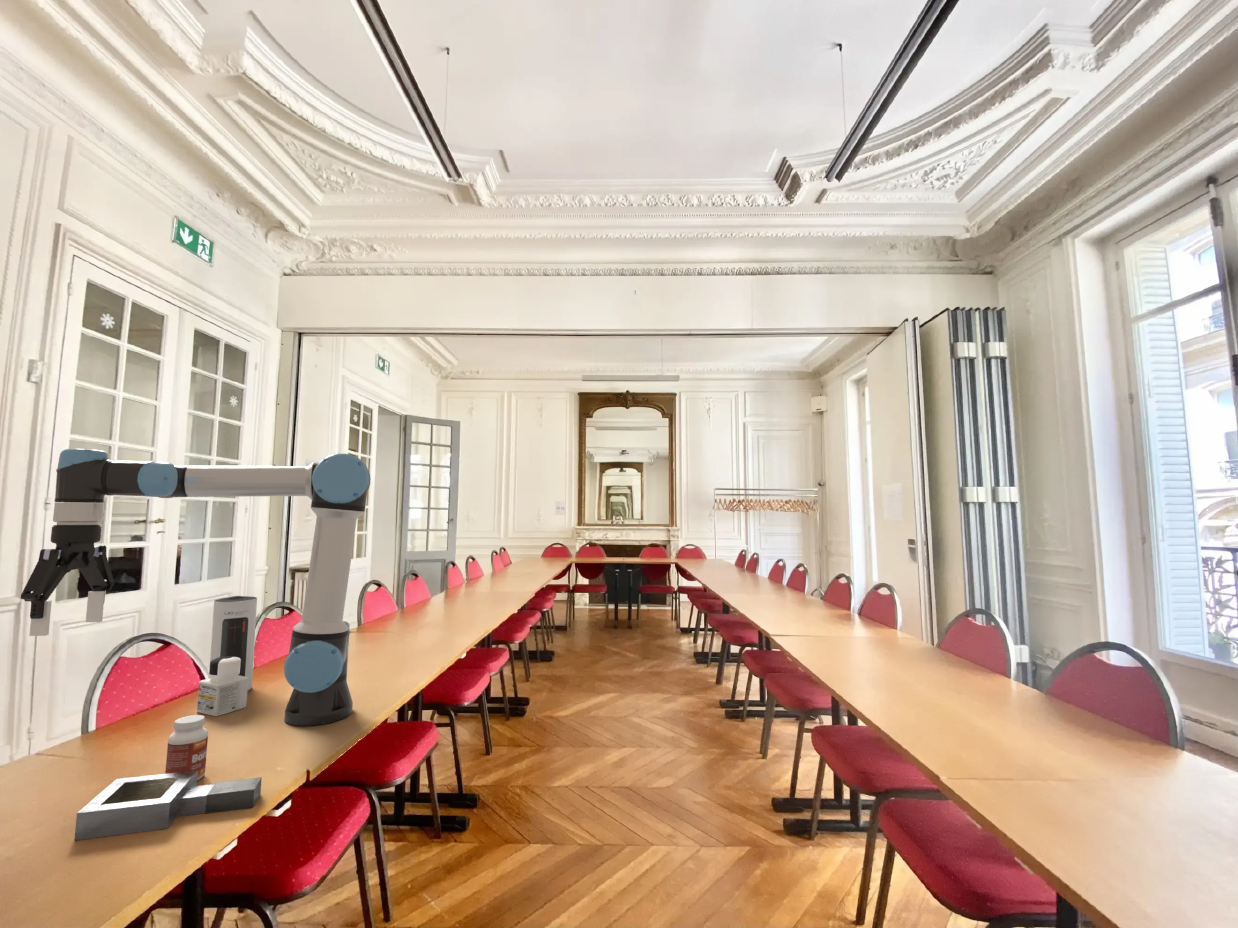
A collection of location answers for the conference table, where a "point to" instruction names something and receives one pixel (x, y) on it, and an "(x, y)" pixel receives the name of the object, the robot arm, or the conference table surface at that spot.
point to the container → (223, 687)
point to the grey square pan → (159, 803)
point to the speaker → (235, 631)
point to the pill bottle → (187, 746)
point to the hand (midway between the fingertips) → (67, 628)
